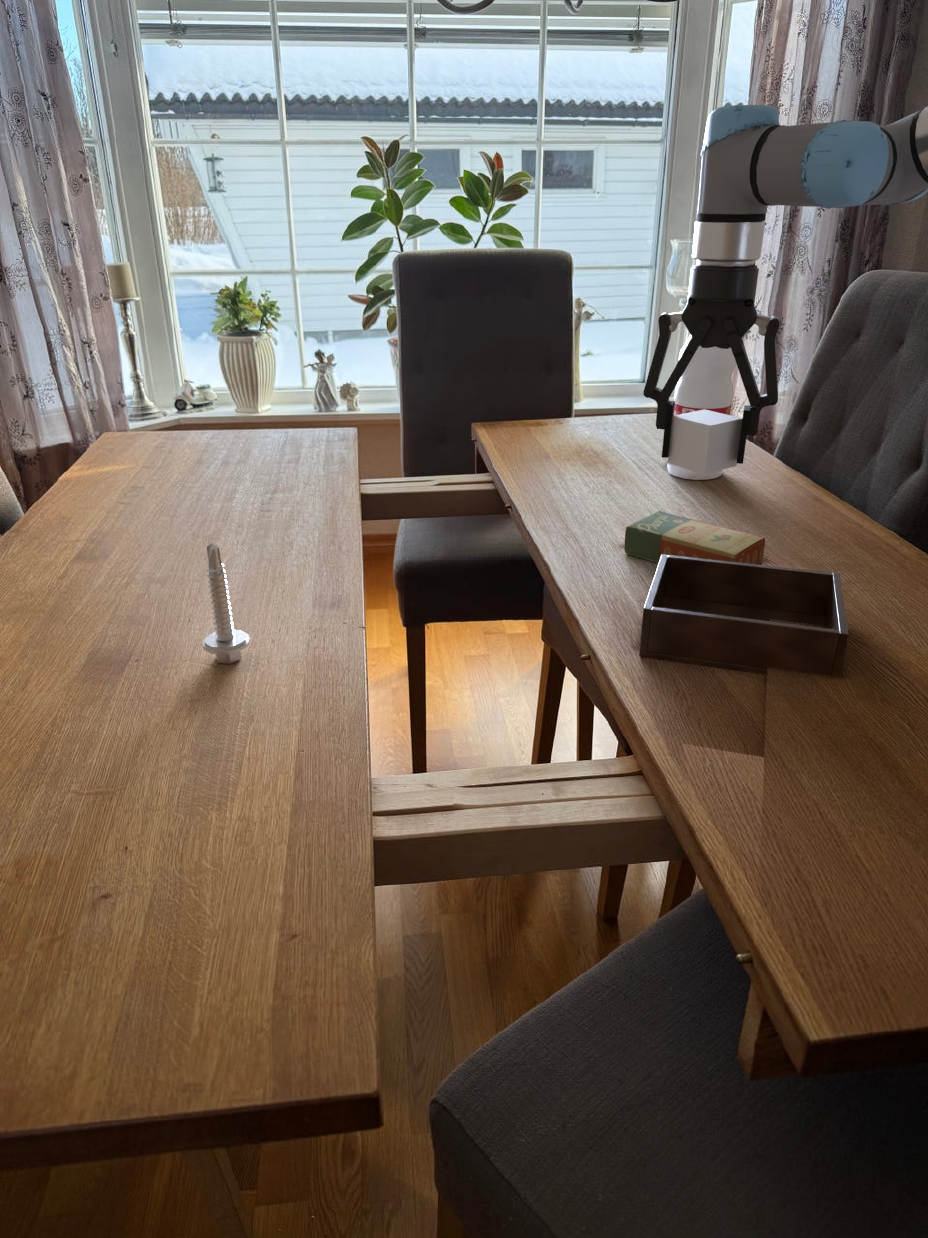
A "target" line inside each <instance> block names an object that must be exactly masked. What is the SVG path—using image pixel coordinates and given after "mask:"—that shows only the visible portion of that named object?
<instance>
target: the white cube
mask: <svg viewBox="0 0 928 1238" xmlns="http://www.w3.org/2000/svg"><path fill="white" fill-rule="evenodd" d="M742 419H743V417H739V416H735V415H731V414H730V415H727V414H722V413H718V412H714V411H710V410H705V409H704V410H699V411H694V412H689V413H685V414H680V415H675V416H672V424H671V434H670V444H669V454H668V458H667V463H668V464H671V465H675V466H678V467H681V468H685V469H688V470H691V471H695V472H698V473H701V474H708V473H712V472H716V471H720V470H723V471H724V470H726V469H731V468H734V467H737V464H738V463H737V456H738V449H739V441H740V434H741V426H742Z"/></svg>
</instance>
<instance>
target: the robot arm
mask: <svg viewBox="0 0 928 1238" xmlns="http://www.w3.org/2000/svg"><path fill="white" fill-rule="evenodd" d="M703 137H704V138H703V144H702V149H701V150H700V173H699V187H698V199H697V201H698V202H697V211H696V218H695V221H694V233H693V240H692V241H693V243H692V253H691V257H692V259H693V260H695V261H696V263H695V264H692V267H690V272H689V273H690V274H689V281H688V282H689V283H688V291H687V292H688V294H687V302H686V305H685V307H684V308H683V310H682V311H677V312H671V313H670V312H669V311H664V312H663V313H661V314H660V315H659V317H658V334H659V335H658V337H657V338H658V339H657V342H656V346H655V349H654V352H653V356H652V360H651V364H650V367H649V370H648V374H647V377H646V381H645V385H644V388H643V397H645V398H647V399H651V400H653V401H654V402H656V404H657V405H656V406H657V407H656V418H655V427H656V429H657V430H663V439H662V449H661V458H665V459H668V454H669V444H670V434H671V424H672V416H674V408H675V401H673V400H670V398H671V396H672V393H673V392H674V391H675V387H676V385H677V383H678V382H679V380H680V378H681V376H682V375H683V373H684V371H685V370H686V368H687V366H688V364H689V363H690V361H691V359H692V357H693V356H694V354H695V352H696V351H697V349H698V347H699V346H701V348H711V347H718V348H721V349H729V348H731V350H732V353H733V356H734V358H735V361H736V367H737V370H738V373H739V376H740V378H741V382H742V384H743V388H744V390H745V394H746V397H747V399H748V403H749V404H748V405H745V404H744V406H743V413H742V418H743V419H742V426H741V434H740V441H739V449H738V456H737V464H740V465H743V464H744V459H745V453H746V452H745V451H746V445H747V437H748V436H750V437H751V436H754V437H755V436H756V435H757V433H758V430H759V423H760V417H761V411H762V409H764V408H765V407H766V408H767V407H769V406H775V405H777V403H778V402H779V387H778V386H779V385H778V367H777V347H776V338H777V334H778V331H779V328H780V323H781V322H780V321H781V319H780V317H779V316H778V315H771V316H768V315H763V314H758V312H757V309H756V305H755V303H756V295H757V287H758V279H759V273H760V268H759V267H758V265H757V264H756V263H755V261H758V260H759V259H761V255H762V249H763V243H764V241H763V240H764V235H765V228H766V227H765V226H766V217H767V213H768V207H771V206H772V207H775V206H784V207H785V206H786V207H788V206H789V207H809V208H810V207H812V208H813V207H814V208H815V207H817V208H818V207H819V208H820V207H821V208H822V209H829V210H830V209H832V208H833V209H842V208H843V209H844V208H846V207H857V206H866V205H867V206H868V205H869V206H874V205H876V206H877V205H879V206H880V205H881V206H889V207H890V206H892V207H893V206H898V205H901V204H904V203H909V202H913V201H916V200H919V198H922V197H923V196H925V195H926V194H927V193H928V106H925V107H924V108H922V109H921V110H918V111H915V112H913V113H911V114H909V115H907V116H905V117H903V118H900V119H899V120H896V121H894V122H892V123H888V124H886V125H879V124H877V123H876V122H873V121H869V120H868V121H859V120H846V119H843V120H842V119H841V120H835V121H830V122H817V123H805V124H795V125H784V124H783V125H781V124H780V110H779V109H778V108H777V107H776V106H775V105H771V104H770V105H769V104H768V105H766V104H744V105H727V106H720V107H717V108H715V109H713V110H712V111H711V112H710V113H709V115H708V117H707V120H706V126H705V132H704V136H703ZM681 322H682V323H683V325H684V326H685V329H687V331H688V333H689V336H690V335H691V336H692V339H691V340H690V342H689V344H688V346H687V347H686V349H685V351H684V353H683V354H682V356H681V358H680V360H679V361H678V360H677V364H676V365H675V366H674V369H673V370H672V372H671V373H670V375H669V377H668V378H667V381H666V382H665V384H664V386H663V387H662V388H660V387H658V383H659V379H660V376H661V372H662V369H663V366H664V363H665V360H666V359H665V358H666V354H667V351H668V348H669V344H670V341H671V337H672V333H674V332H675V331H677V329H678V326H679V324H680V323H681ZM754 325H755V326H757V327H758V333H759V335H760V336H762V337H764V338H763V350H764V352H763V353H764V366H765V367H764V368H765V383H766V384H765V387H766V393H764V394H761V392H760V390H759V387H758V384H757V381H756V378H755V375H754V372H753V369H752V366H751V362H750V360H749V356H748V354H747V350H746V347H745V346H746V345H745V343H744V340H743V338H744V336H746V334H747V333H748V332H749V331H750V330H751V329H752V328H753V326H754Z"/></svg>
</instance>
